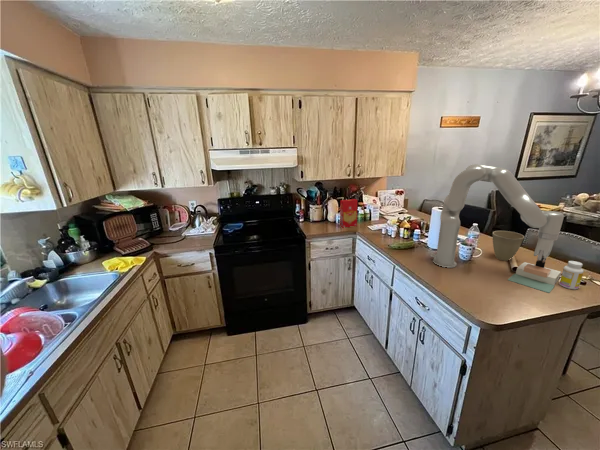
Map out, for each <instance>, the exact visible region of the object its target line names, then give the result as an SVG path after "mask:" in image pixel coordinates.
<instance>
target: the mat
mask: <svg viewBox="0 0 600 450" xmlns="http://www.w3.org/2000/svg"><path fill="white" fill-rule="evenodd" d="M507 281H508V282H509V281H510V282H511V283H512V282H513V283H515V284H519V285H522V286H525V287H528V288H530V289H531V288H532V289H534V290H537V291H541V292H544V293H547V294H550V293H551V292H552V290H553V289H554V288H555V286H556V285H555V284H554V285H551V284H548V283H544V282H541V281H538V280H534V279H531V278H527V277H524V276H521V275H517V274H516V273H513V274H512V275H511V276H510V277H509V278H507Z"/></svg>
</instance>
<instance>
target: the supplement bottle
mask: <svg viewBox="0 0 600 450" xmlns="http://www.w3.org/2000/svg"><path fill="white" fill-rule="evenodd" d="M582 267H583V263H582V262H580V261H576V260H575V261H574V260H568V262H567V265H565V266H563V268H562V271H561V274H560V278H559V285H560V286H561V287H563V288H565V289H569V290H578V289H579V287H580V286H581V282H582V278H583V275H584V269H583V268H582Z"/></svg>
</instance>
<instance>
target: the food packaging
mask: <svg viewBox="0 0 600 450" xmlns="http://www.w3.org/2000/svg"><path fill="white" fill-rule="evenodd" d="M339 201H340V203H339V204H340V205H339V206H340V207H339V226H341V227H342V229H345V228H344V227H348V228H351V227H350V226H354V227H357V226H358V199H356V198H351V199H341V200H339ZM341 227H340V228H341Z"/></svg>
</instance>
